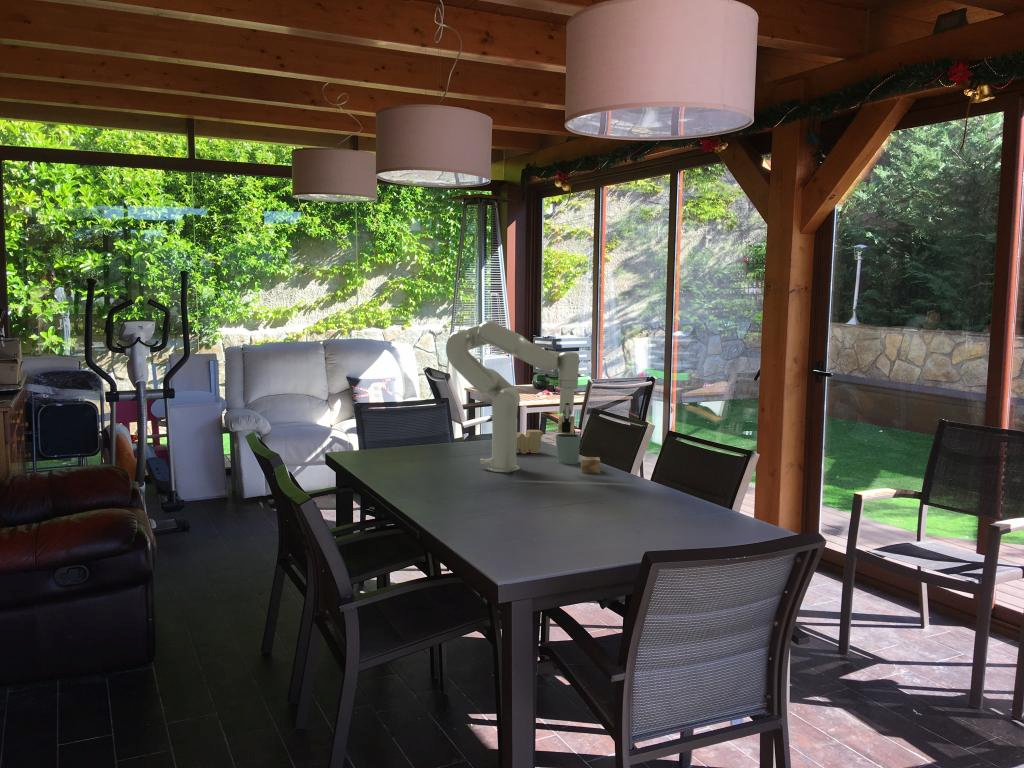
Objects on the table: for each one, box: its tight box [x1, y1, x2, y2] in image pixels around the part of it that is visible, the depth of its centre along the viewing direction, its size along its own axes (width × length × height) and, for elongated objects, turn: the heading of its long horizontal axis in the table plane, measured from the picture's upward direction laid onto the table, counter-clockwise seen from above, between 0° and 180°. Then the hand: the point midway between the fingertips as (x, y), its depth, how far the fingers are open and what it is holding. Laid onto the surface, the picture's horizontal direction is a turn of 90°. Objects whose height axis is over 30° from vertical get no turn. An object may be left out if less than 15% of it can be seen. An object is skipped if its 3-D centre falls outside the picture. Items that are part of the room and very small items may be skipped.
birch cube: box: [557, 415, 575, 434], centre depth 336 cm, size 6×6×6 cm
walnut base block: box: [580, 456, 601, 474], centre depth 337 cm, size 7×7×5 cm
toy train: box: [516, 429, 544, 455], centre depth 381 cm, size 6×17×10 cm, turn 105°
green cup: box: [555, 433, 581, 465], centre depth 356 cm, size 10×10×12 cm
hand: (565, 430), depth 336 cm, fingers closed on birch cube, 6 cm apart
